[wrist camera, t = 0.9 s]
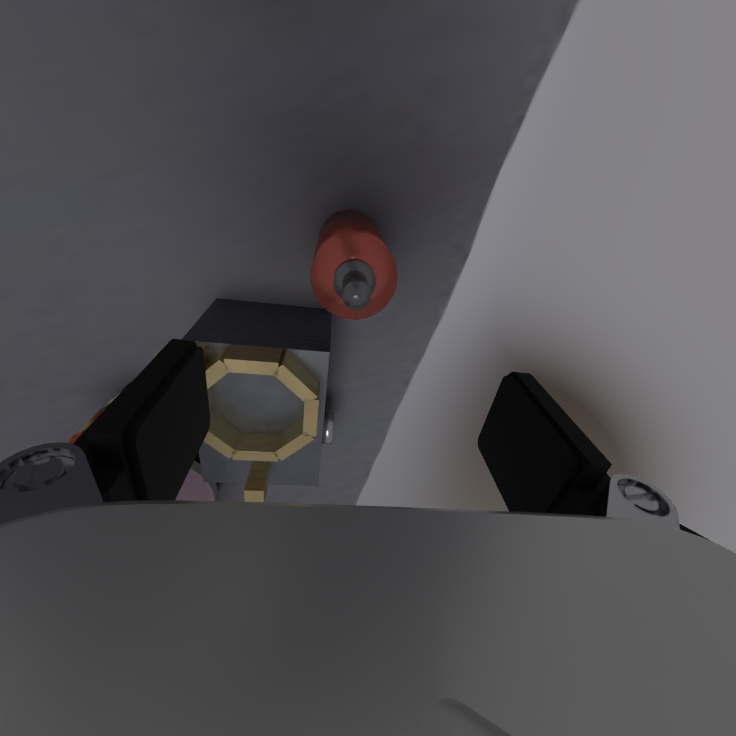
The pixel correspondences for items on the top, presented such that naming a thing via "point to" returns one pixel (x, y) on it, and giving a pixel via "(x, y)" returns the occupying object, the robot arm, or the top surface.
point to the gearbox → (264, 393)
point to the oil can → (352, 267)
